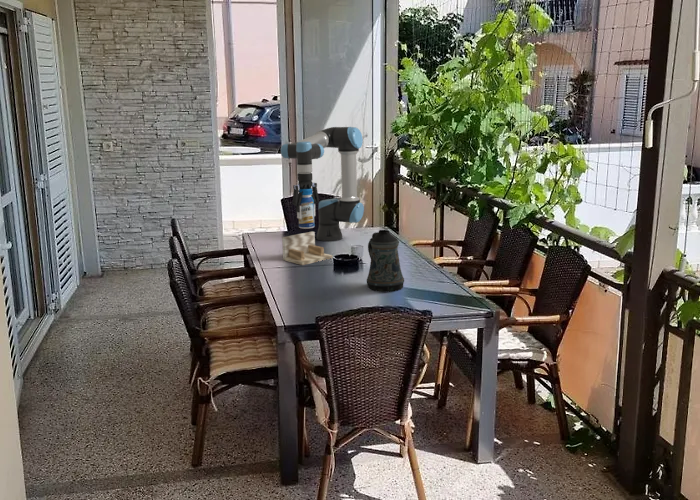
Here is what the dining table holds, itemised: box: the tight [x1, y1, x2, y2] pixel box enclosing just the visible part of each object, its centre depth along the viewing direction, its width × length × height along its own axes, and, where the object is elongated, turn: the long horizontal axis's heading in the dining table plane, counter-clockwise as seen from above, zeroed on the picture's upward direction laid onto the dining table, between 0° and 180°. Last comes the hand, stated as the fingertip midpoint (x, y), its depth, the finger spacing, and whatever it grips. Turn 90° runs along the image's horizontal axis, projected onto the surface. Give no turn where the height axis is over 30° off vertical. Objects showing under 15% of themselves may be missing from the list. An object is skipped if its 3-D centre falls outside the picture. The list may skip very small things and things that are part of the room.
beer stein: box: [366, 229, 405, 293], centre depth 299 cm, size 16×19×25 cm
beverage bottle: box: [298, 187, 315, 230], centre depth 348 cm, size 8×8×20 cm
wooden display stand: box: [281, 231, 333, 266], centre depth 353 cm, size 20×16×12 cm
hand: (306, 217), depth 350 cm, fingers closed on beverage bottle, 8 cm apart
